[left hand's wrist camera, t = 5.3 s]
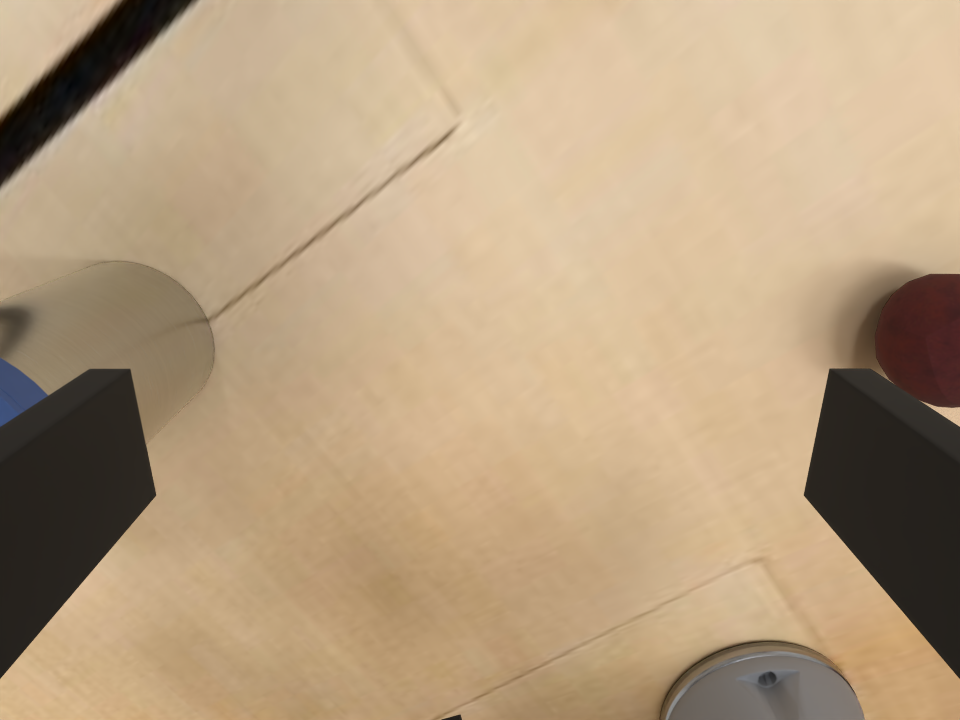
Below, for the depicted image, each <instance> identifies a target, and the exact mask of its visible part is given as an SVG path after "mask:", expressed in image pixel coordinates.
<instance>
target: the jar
mask: <svg viewBox="0 0 960 720" xmlns="http://www.w3.org/2000/svg"><path fill="white" fill-rule="evenodd" d="M0 358H2V359H3V360H5V361H7V362H8V363H10V364H11V365H13V366H14V367H16V368H17V369H19V370H20V371H21V372H23V373H24V374H25V375H27V376H28V377H29V378H30V379H32V380H33V381H34V382H35V383H36V384H37V385H38V386H39V387H40V388H41V389H42V390H43V391H44V392H45V393H46V394H47V395H50V394H52V393H53V392H55V391H56V390H58V389H59V388H61V387H62V386H64V385H65V384H67V383H68V382H70V381H72V380H73V379H75V378H76V377H78V376H79V375H81V374H82V373H84V372H85V371H87V370H88V369H131V374H132V379H133V384H134V389H135V393H136V398H137V403H138V408H139V413H140V418H141V423H142V428H143V433H144V438H145V443H146V444H147V443H148V442H149V441H150V440H151V439H152V438H153V437H154V436H155V435H156V434H157V433H158V432H159V431H160V430H161V429H162V428H163V427H164V426H165V425H166V424H167V423H168V422H169V421H170V420H171V419H172V418H173V417H174V416H175V415H176V414H177V413H179V412H180V411H181V410H182V409H183V408H184V407H185V406H186V405H187V404H188V403H189V402H190V401H191V400H192V399H193V398H194V397H195V396H196V395H197V394H198V393H199V392H200V390H201V389H202V388H203V386H204V385H205V383H206V382H207V380H208V378H209V376H210V373H211V370H212V366H213V361H214V342H213V336H212V332H211V328H210V326H209V323H208V321H207V318H206V316H205V315H204V313H203V311H202V309H201V308H200V306H199V305H198V303H197V302H196V300H195V299H194V298H193V297H192V296H191V295H190V294H189V292H188V291H186V290H185V289H184V288H183V287H182V286H181V285H180V284H179V283H177V282H176V281H174V280H173V279H172V278H170V277H169V276H167V275H165V274H163V273H161V272H160V271H157V270H155V269H153V268H150V267H147V266H144V265H141V264H137V263H131V262H121V261H113V262H104V263H99V264H95V265H92V266H90V267H87V268H84V269H82V270H79V271H77V272H74V273H72V274H69V275H66V276H64V277H61V278H59V279H56V280H54V281H51V282H48V283H46V284H43V285H41V286H38V287H36V288H33V289H30V290H28V291H25V292H23V293H20V294H18V295H15V296H12V297H10V298H7V299H5V300H2V301H0Z"/></svg>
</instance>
